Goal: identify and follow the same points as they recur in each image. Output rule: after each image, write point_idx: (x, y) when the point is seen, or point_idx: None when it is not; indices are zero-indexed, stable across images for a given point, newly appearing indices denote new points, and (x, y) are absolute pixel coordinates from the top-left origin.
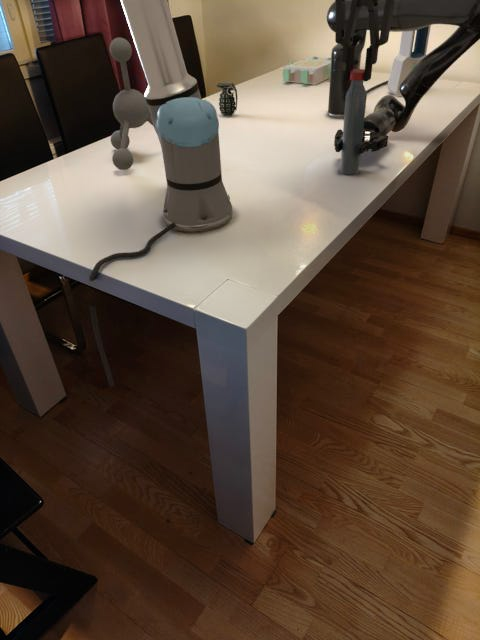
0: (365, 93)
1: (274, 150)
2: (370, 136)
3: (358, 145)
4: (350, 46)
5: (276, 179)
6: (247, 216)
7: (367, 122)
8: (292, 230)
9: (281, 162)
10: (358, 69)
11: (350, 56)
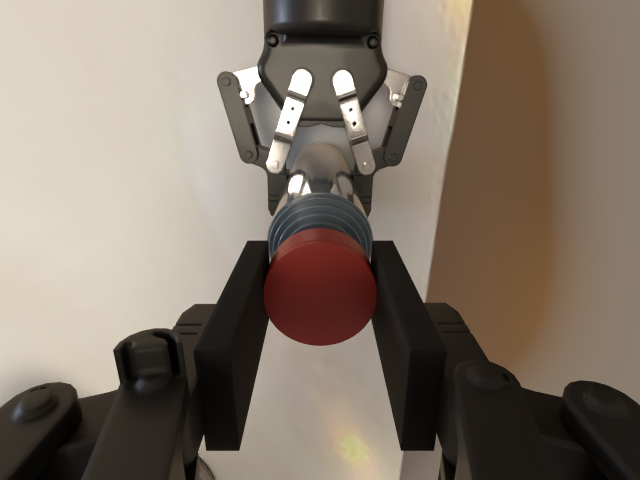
0: (370, 252)
1: (16, 90)
2: (361, 104)
3: None
4: (206, 396)
5: (172, 292)
6: (229, 453)
7: (325, 32)
8: (329, 463)
9: (108, 182)
10: (303, 257)
11: (250, 381)
